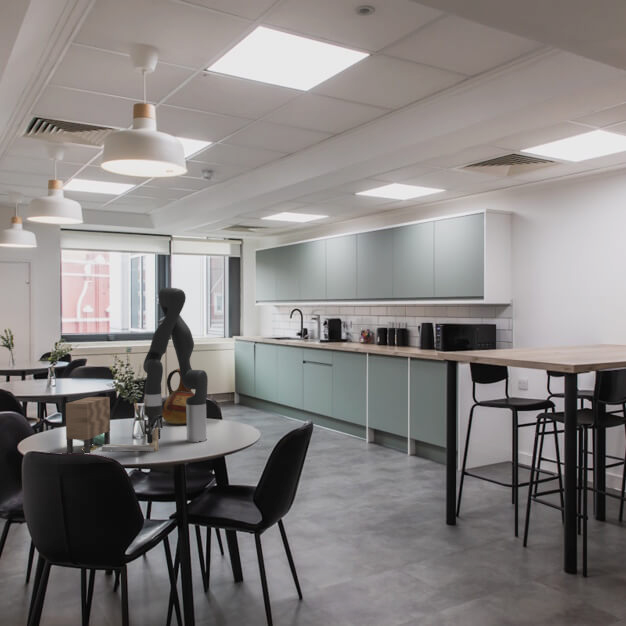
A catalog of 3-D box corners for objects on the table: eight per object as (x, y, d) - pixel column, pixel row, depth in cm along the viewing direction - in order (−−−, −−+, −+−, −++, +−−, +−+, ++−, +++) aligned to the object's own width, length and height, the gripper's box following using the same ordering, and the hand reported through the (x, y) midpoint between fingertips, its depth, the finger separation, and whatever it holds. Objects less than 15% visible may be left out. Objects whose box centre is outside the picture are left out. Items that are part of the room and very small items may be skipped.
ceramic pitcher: (194, 426, 329) (193, 370, 329) (157, 426, 331) (156, 370, 331) (203, 420, 349) (203, 366, 349) (168, 420, 350) (167, 367, 350)
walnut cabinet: (90, 444, 288) (89, 396, 288) (110, 444, 287) (109, 397, 286) (66, 454, 268) (65, 403, 268) (88, 454, 267) (87, 403, 267)
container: (107, 431, 288) (85, 423, 306) (96, 438, 284) (74, 430, 302) (112, 442, 290) (89, 434, 308) (101, 449, 286) (79, 440, 304)
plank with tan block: (107, 448, 279) (106, 426, 279) (159, 449, 275) (159, 427, 275) (101, 451, 274) (101, 428, 274) (154, 452, 270) (154, 429, 270)
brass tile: (87, 449, 280) (87, 445, 280) (97, 449, 279) (97, 446, 279) (80, 451, 275) (80, 448, 275) (91, 452, 274) (91, 448, 274)
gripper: (155, 406, 265) (155, 444, 265) (167, 402, 279) (168, 438, 279) (138, 406, 266) (138, 444, 266) (151, 401, 280) (152, 437, 280)
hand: (153, 441), depth 273 cm, fingers open, 8 cm apart
